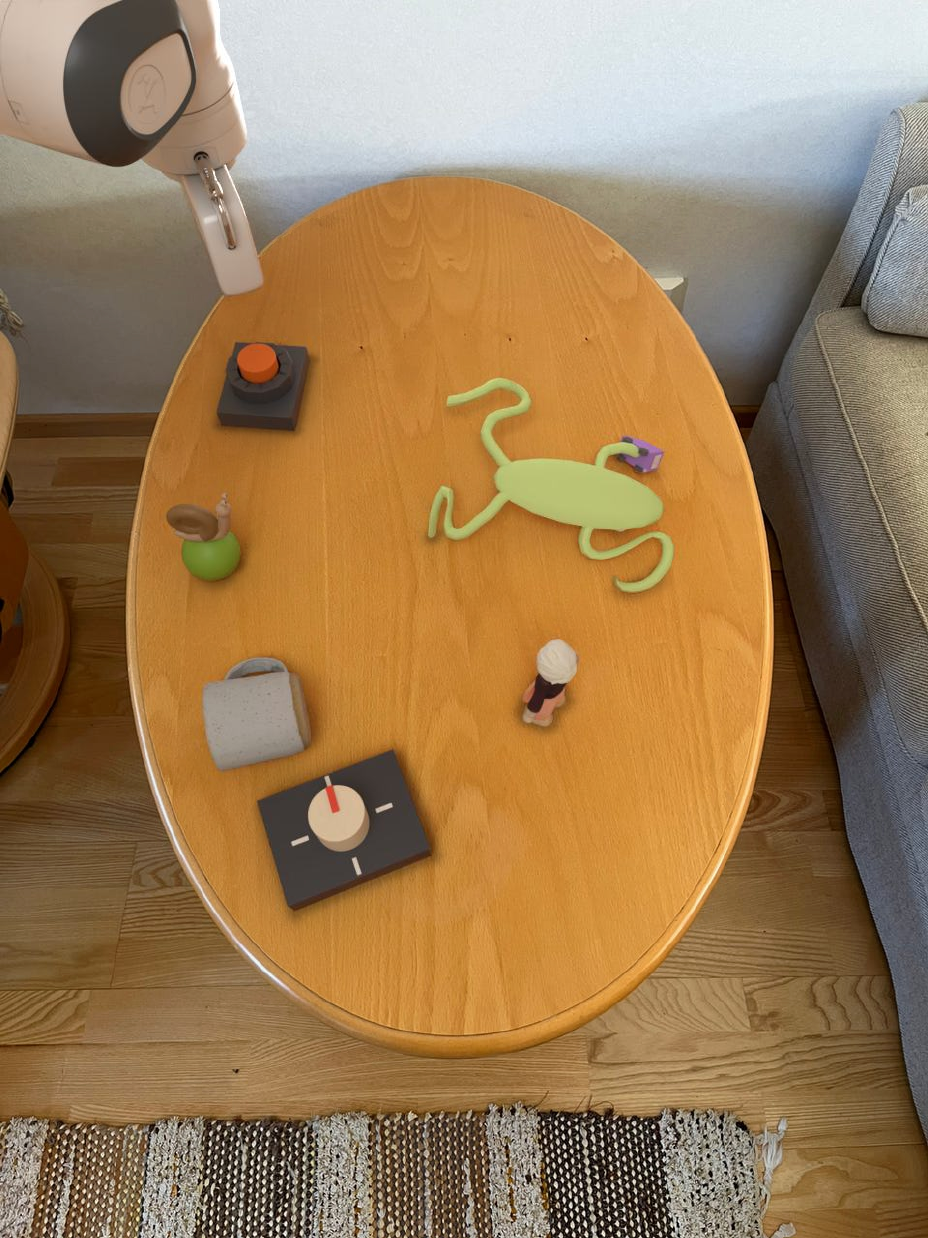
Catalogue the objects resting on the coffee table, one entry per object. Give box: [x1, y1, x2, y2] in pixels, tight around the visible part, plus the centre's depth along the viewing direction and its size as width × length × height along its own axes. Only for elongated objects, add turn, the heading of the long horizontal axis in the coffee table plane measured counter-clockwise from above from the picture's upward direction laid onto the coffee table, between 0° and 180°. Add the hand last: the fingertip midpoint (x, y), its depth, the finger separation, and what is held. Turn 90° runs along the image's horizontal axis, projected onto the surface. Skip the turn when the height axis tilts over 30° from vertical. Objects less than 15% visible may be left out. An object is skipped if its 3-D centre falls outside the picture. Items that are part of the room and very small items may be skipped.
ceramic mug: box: [201, 656, 312, 772], centre depth 72 cm, size 11×8×8 cm
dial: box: [308, 785, 369, 852], centre depth 67 cm, size 4×4×4 cm
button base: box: [216, 341, 310, 432], centre depth 91 cm, size 10×8×4 cm
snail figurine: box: [165, 492, 242, 582], centre depth 77 cm, size 5×6×12 cm
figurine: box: [427, 377, 675, 594], centre depth 84 cm, size 18×27×6 cm
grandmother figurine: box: [521, 638, 580, 728], centre depth 71 cm, size 8×4×13 cm, turn 155°
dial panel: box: [256, 749, 432, 912], centre depth 70 cm, size 12×9×3 cm
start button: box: [237, 344, 278, 384], centre depth 88 cm, size 4×4×2 cm
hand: (229, 264), depth 77 cm, fingers closed
